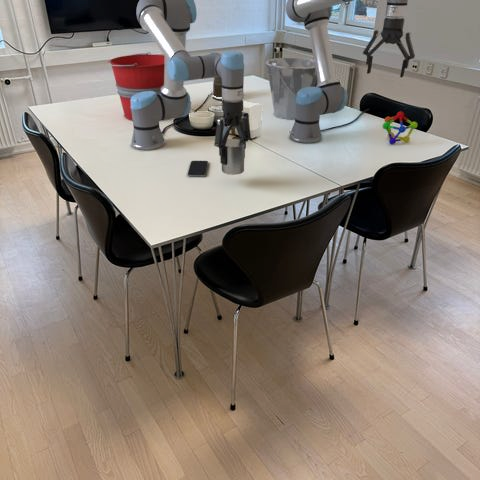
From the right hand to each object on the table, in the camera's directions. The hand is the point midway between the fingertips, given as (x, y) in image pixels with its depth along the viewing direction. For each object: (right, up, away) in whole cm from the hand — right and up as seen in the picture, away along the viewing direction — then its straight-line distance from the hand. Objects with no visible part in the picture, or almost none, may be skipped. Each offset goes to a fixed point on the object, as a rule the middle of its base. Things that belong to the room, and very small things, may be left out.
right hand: (384, 75), depth 182 cm
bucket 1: (-112, +2, +66) cm, 130 cm away
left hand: (-62, -38, -15) cm, 75 cm away
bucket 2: (-31, +3, +68) cm, 74 cm away
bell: (-68, +23, +99) cm, 123 cm away
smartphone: (-77, -39, 0) cm, 86 cm away
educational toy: (+14, -22, +28) cm, 39 cm away
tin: (-62, -41, -13) cm, 76 cm away
